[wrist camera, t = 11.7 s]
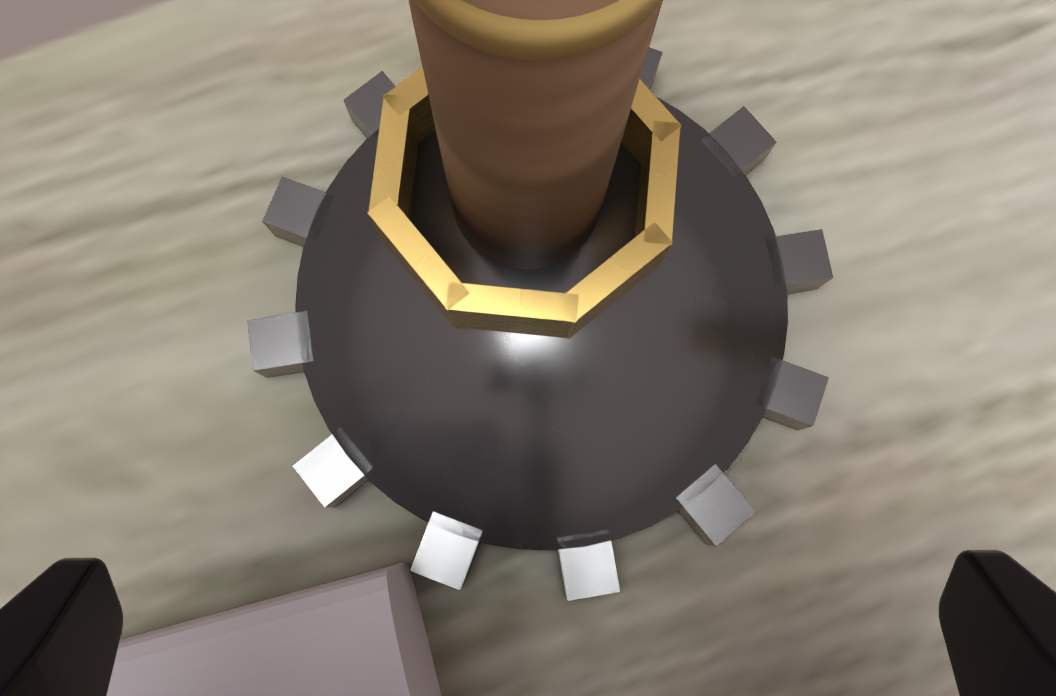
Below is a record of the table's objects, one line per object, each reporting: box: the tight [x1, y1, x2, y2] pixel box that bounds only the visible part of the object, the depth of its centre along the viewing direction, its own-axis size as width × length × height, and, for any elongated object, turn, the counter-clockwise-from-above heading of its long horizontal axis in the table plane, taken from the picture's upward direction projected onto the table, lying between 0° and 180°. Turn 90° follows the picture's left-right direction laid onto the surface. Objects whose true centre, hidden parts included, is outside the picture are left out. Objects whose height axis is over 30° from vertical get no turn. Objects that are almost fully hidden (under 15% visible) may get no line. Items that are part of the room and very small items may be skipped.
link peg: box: [409, 0, 663, 270], centre depth 16 cm, size 4×4×12 cm
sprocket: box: [247, 48, 833, 601], centre depth 22 cm, size 14×14×3 cm
